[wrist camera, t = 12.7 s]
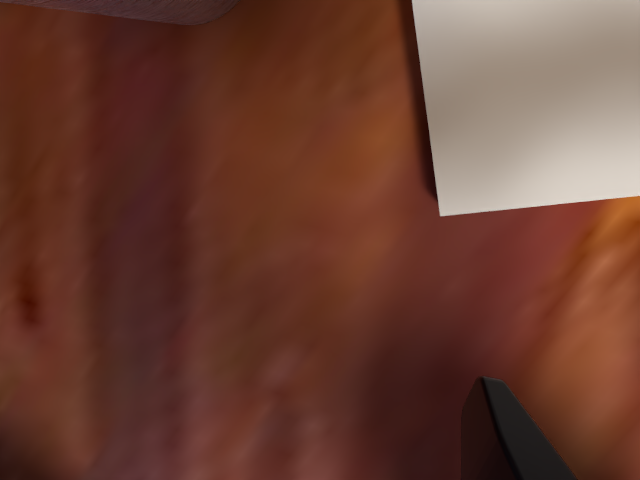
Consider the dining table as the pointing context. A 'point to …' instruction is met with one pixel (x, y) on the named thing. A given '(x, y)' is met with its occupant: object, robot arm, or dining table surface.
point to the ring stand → (530, 100)
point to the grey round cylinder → (143, 9)
